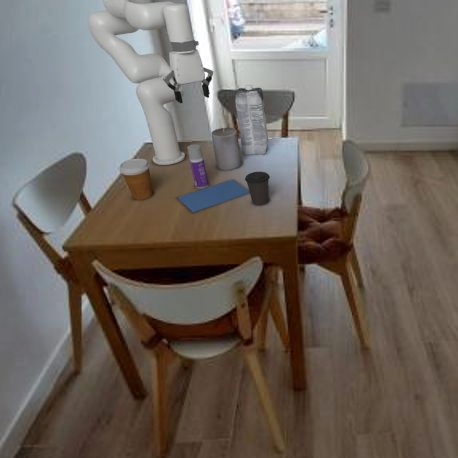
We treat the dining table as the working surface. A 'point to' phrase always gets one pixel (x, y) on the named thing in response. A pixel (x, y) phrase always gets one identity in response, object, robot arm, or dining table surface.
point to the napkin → (212, 195)
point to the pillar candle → (226, 148)
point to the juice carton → (251, 120)
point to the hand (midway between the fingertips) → (193, 99)
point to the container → (197, 166)
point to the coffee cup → (258, 187)
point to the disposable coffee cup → (137, 177)
